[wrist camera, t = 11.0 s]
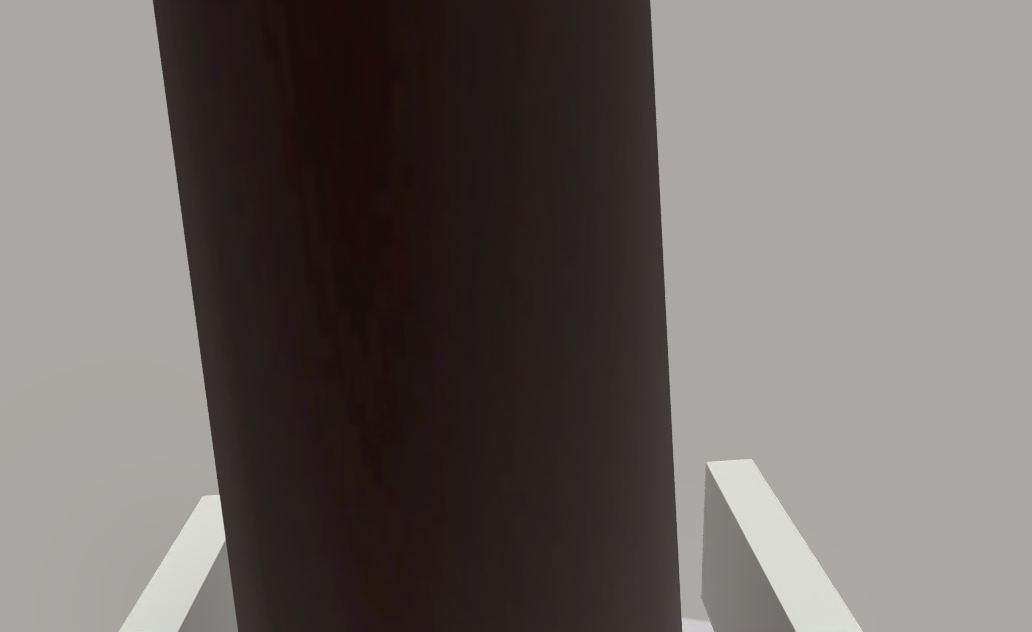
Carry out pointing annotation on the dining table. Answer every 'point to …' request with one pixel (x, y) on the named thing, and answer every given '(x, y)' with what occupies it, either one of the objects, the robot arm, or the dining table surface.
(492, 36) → the beer bottle
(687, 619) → the dining table surface
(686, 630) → the dining table surface
